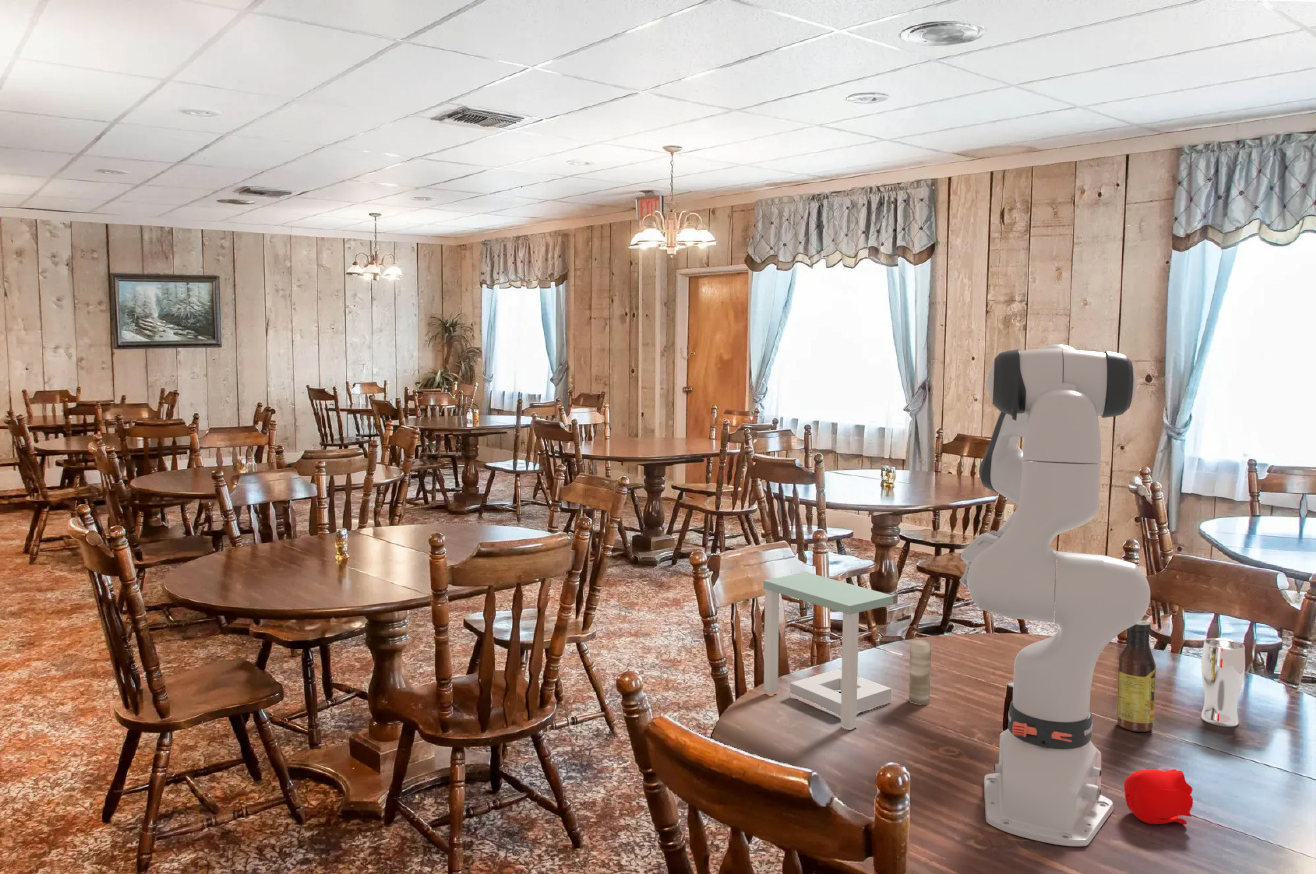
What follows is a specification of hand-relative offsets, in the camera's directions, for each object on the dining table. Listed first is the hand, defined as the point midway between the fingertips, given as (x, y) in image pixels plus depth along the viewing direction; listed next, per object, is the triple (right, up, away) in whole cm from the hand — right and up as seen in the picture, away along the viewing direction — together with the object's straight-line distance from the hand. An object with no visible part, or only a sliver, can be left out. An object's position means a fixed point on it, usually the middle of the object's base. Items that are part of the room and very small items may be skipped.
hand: (977, 590), depth 187 cm
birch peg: (-12, -22, -1) cm, 25 cm away
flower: (+10, -27, -48) cm, 56 cm away
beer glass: (+42, -23, -11) cm, 49 cm away
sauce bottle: (+25, -23, -14) cm, 37 cm away
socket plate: (-28, -22, -1) cm, 35 cm away
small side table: (-31, -22, -3) cm, 38 cm away
